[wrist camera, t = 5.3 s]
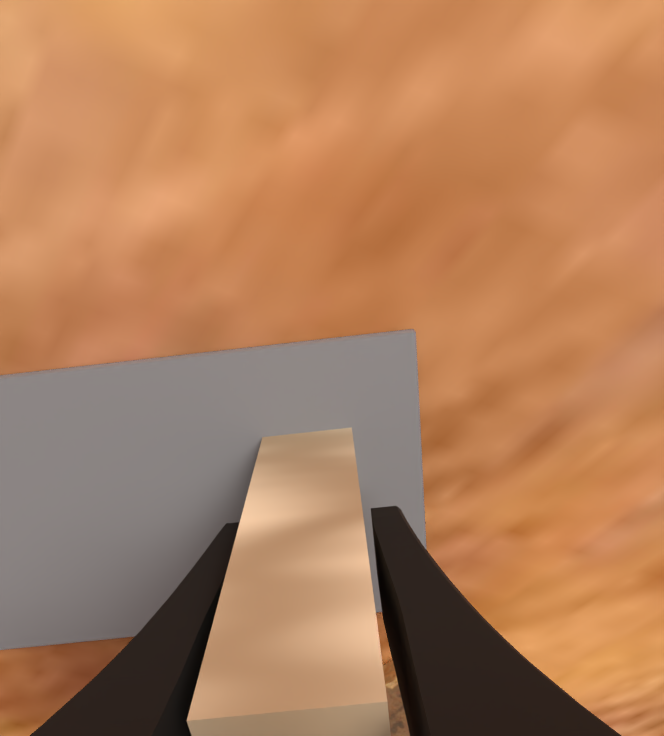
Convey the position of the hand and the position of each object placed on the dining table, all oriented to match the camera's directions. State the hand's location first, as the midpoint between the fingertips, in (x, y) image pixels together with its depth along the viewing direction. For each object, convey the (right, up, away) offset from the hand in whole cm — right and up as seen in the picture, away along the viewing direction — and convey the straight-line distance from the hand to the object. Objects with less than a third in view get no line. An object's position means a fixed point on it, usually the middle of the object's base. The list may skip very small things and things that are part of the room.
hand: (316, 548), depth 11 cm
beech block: (0, 0, +2) cm, 2 cm away
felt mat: (-4, 0, +2) cm, 5 cm away
